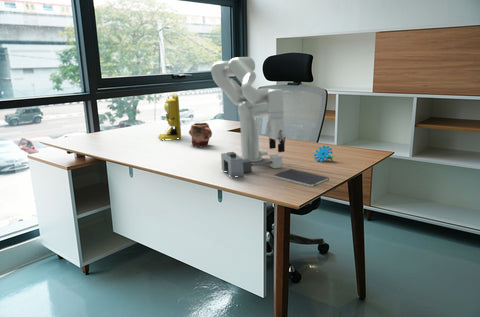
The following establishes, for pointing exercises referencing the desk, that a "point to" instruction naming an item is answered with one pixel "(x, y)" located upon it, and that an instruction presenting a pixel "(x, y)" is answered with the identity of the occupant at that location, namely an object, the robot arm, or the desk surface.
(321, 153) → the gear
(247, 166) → the plug
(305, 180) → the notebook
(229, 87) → the robot arm
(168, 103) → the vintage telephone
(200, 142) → the decorative planter
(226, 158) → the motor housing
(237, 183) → the desk surface
